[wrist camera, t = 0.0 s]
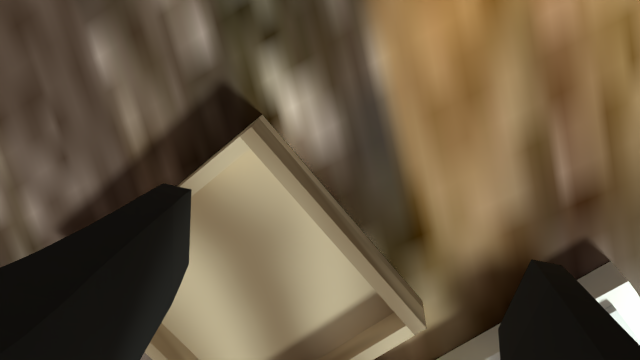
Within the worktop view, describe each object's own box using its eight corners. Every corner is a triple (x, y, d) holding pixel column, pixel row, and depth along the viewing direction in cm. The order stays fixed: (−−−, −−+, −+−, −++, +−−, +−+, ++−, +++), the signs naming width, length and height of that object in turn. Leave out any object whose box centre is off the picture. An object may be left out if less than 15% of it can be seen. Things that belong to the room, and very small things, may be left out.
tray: (247, 408, 26) (237, 439, 24) (91, 256, 24) (68, 279, 22) (422, 301, 23) (426, 328, 21) (262, 114, 21) (251, 126, 19)
